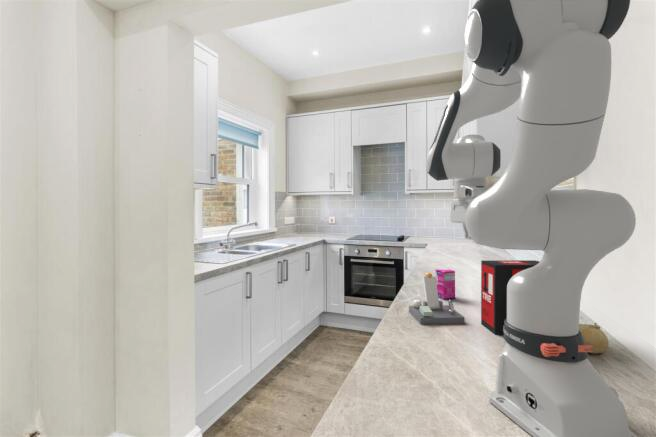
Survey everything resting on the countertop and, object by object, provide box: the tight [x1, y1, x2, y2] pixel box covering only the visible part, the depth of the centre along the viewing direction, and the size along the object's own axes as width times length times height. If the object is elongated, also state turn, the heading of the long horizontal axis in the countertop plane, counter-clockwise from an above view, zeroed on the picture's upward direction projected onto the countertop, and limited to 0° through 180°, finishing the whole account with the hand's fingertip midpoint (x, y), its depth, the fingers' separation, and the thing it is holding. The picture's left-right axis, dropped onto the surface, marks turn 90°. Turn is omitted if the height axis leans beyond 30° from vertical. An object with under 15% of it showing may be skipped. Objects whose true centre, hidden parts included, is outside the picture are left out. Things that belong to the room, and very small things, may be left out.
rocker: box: [419, 305, 432, 316], centre depth 103 cm, size 4×3×1 cm
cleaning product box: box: [480, 259, 540, 336], centre depth 95 cm, size 16×9×20 cm, turn 88°
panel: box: [408, 300, 466, 325], centre depth 107 cm, size 13×14×5 cm
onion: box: [579, 322, 610, 355], centre depth 81 cm, size 8×8×7 cm
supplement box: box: [434, 268, 456, 301], centre depth 131 cm, size 6×6×12 cm
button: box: [412, 299, 423, 308], centre depth 111 cm, size 3×3×2 cm
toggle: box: [448, 299, 457, 313], centre depth 105 cm, size 1×2×4 cm, turn 92°
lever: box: [422, 272, 440, 309], centre depth 111 cm, size 2×4×12 cm, turn 92°
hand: (469, 239), depth 95 cm, fingers closed
